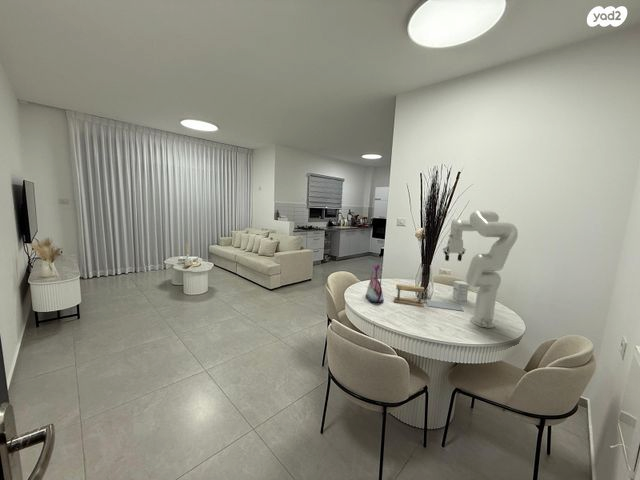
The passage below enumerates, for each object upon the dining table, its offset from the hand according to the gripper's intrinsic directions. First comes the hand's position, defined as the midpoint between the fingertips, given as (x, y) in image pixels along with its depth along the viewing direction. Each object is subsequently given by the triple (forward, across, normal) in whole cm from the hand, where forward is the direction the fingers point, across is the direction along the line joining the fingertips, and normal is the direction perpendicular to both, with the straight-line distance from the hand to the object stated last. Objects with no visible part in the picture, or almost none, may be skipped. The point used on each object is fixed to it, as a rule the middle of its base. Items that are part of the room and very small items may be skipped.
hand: (453, 260), depth 191 cm
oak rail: (+20, -34, -5) cm, 40 cm away
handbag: (+29, -56, +1) cm, 63 cm away
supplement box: (+29, +8, 0) cm, 30 cm away
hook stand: (+29, -34, -5) cm, 45 cm away
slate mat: (+29, -12, -12) cm, 33 cm away
